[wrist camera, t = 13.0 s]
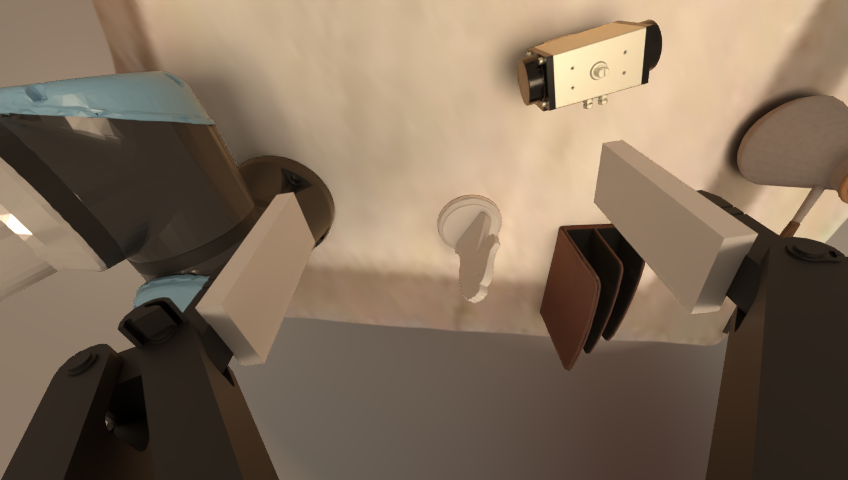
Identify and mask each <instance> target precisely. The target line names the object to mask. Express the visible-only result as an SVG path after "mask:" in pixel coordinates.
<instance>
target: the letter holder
mask: <svg viewBox="0 0 848 480" xmlns="http://www.w3.org/2000/svg"><path fill="white" fill-rule="evenodd" d="M644 266H645V261H644V260H643V258H642V257H641V256H640V255H639V254H638V253H637V251H636V250H635V249H634V248H633V247H632V246H631V245H630V243H629V242H628V241H627V240H626V239H625V238H624V236H623V235H622V234H621V233H620V232H619V231H618V230H617V228H616V227H615V226H614V225H613V224H602V225H579V226H562V227H560V229H559V234H558V239H557V243H556V248H555V252H554V256H553V260H552V264H551V268H550V272H549V277H548V281H547V285H546V289H545V294H544V298H543V302H542V306H541V310H540V313H541V316H542V318H543V320H544V322H545V325H546V327H547V330H548V332H549V334H550V336H551V339H552V341H553V344H554V346H555V349H556V351H557V353H558V355H559V357H560V360H561V362H562V365H563V366H564V368H565V369H566V370H568V371H570V370H571V369H572V368H573V366H574V365H575V363H576V361H577V359H578V357H579V355H580V353H581V351H582V349H584V351H585V353H588V354H590V353H591V352H592V350H593V349H594V347H595V346H596V344H597V342H598V341H599V339H600V337H601V335H602V336H603V338H604V339H605V340H606V341H609V340H610V339H611V338H612V337H613V336H614V335H615V333H616V331H617V330H618V328H619V326H620V324H621V322H622V320H623V319H624V317H625V315H626V312H627V310H628V308H629V306H630V304H631V301H632V299H633V297H634V294H635V292H636V290H637V287H638V284H639V282H640V279H641V276H642V272H643V269H644Z"/></svg>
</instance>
